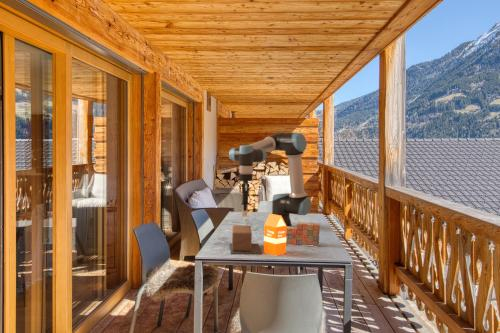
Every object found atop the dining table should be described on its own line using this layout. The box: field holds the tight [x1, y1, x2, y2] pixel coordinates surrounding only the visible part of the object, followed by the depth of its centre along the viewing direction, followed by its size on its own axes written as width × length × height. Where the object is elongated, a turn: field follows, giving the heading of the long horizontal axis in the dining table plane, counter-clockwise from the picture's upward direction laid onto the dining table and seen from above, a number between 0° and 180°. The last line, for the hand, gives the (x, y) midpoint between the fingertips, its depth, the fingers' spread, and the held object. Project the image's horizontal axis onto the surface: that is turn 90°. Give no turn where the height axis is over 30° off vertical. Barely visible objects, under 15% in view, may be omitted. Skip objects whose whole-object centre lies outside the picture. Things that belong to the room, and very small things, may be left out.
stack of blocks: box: [286, 221, 320, 247], centre depth 248 cm, size 21×6×12 cm, turn 76°
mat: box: [229, 242, 263, 255], centre depth 234 cm, size 16×20×1 cm
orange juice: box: [263, 213, 287, 256], centre depth 227 cm, size 8×9×20 cm
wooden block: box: [231, 225, 253, 251], centre depth 235 cm, size 10×10×20 cm
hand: (244, 216), depth 241 cm, fingers closed
